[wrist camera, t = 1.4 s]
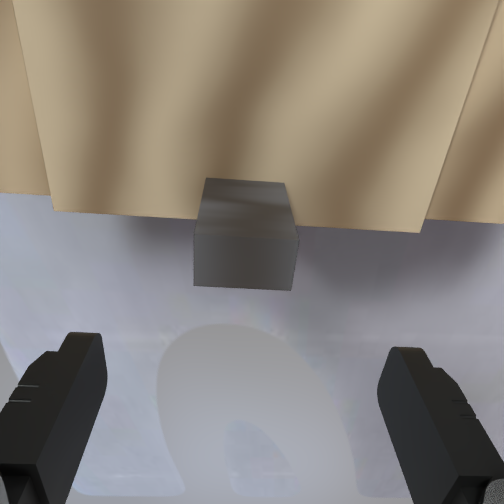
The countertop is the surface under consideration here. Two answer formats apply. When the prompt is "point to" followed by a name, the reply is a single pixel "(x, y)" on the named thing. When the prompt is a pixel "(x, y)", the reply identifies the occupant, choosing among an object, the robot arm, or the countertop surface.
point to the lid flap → (250, 115)
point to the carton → (446, 190)
